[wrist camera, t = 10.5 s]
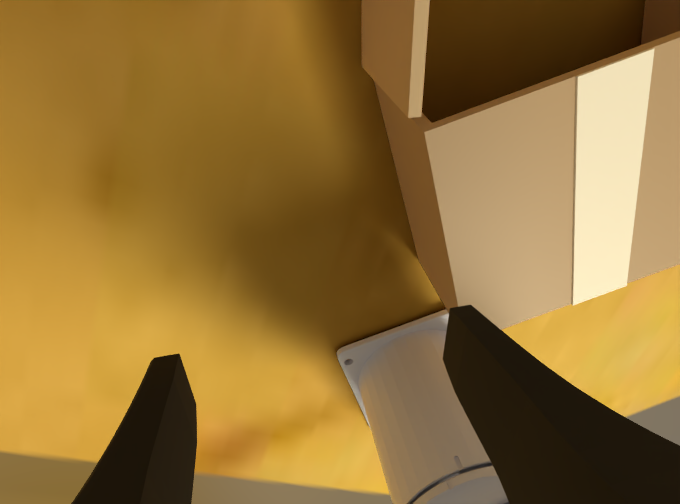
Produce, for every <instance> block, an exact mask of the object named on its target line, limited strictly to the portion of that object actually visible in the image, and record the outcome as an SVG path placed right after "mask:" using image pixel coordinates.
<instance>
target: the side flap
mask: <svg viewBox="0 0 680 504" xmlns="http://www.w3.org/2000/svg"><path fill="white" fill-rule="evenodd" d="M429 4H430V0H362V68H363V69H364V70H365V71H366V72H367V73H368V74H369V75H370V76H371V78H372V79H373V80H374V81H375V82H376V83H377V84H378V85H379V86H380V87H381V89H382V90H383V91H384V92H385V93H386V94H387V95H388V96H389V97H390V99H391V100H392V101H393V102H394V103H395V104H396V105H397V106H398V107H399V108H400V110H401V111H402V112H403V113H404V114H405V115H406V116H407V117H408V118H414V117H421V114H422V101H423V87H424V73H425V59H426V46H427V32H428V18H429Z"/></svg>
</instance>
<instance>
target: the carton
mask: <svg viewBox="0 0 680 504" xmlns="http://www.w3.org/2000/svg"><path fill="white" fill-rule="evenodd" d="M374 83H375V87H376V91H377V95H378V99H379V103H380V107H381V111H382V115H383V119H384V123H385V127H386V131H387V135H388V139H389V143H390V148H391V152H392V156H393V160H394V164H395V168H396V172H397V176H398V180H399V184H400V188H401V192H402V196H403V200H404V204H405V208H406V212H407V216H408V220H409V224H410V228H411V232H412V236H413V240H414V244H415V248H416V252H417V256H418V260H419V262H420V264H421V266H422V267H423V269H424V271H425V273H426V274H427V276H428V278H429V280H430V281H431V283H432V285H433V287H434V288H435V290H436V292H437V294H438V295H439V297H440V299H441V301H442V303H443V304H444V306H445V308H446V310H447V311H448V313H449V310H450V308H453V307H459V306H465V305H472V306H473V307H474V308H475V309H477V310H478V311H479V312H480V313H481V314H483V315H484V316H485V317H486V318H487V319H489V320H490V321H491V322H492V323H493V324H494V325H496V326H497V327H498V328H499V329H500V330H501V329H504V328H507V327H510V326H512V325H515V324H518V323H521V322H523V321H526V320H529V319H531V318H534V317H537V316H540V315H542V314H545V313H548V312H551V311H553V310H556V309H559V308H562V307H564V306H567V305H570V304H572V305H575V304H578V303H581V302H584V301H586V300H589V299H592V298H595V297H597V296H600V295H603V294H605V293H608V292H611V291H614V290H616V289H619V288H622V287H625V286H627V283H630V282H633V281H635V280H638V279H641V278H644V277H646V276H649V275H652V274H655V273H657V272H660V271H663V270H665V269H668V268H671V267H674V266H676V265H679V264H680V0H645V7H644V17H643V27H642V37H641V45H640V46H638V47H635V48H632V49H630V50H627V51H624V52H621V53H619V54H616V55H613V56H611V57H608V58H605V59H603V60H600V61H597V62H595V63H592V64H589V65H586V66H584V67H581V68H578V69H576V70H573V71H570V72H568V73H565V74H562V75H560V76H557V77H554V78H551V79H549V80H546V81H543V82H541V83H538V84H535V85H533V86H530V87H527V88H525V89H522V90H519V91H516V92H514V93H511V94H508V95H506V96H503V97H500V98H498V99H495V100H492V101H490V102H487V103H484V104H481V105H479V106H476V107H473V108H471V109H468V110H465V111H463V112H460V113H457V114H455V115H452V116H449V117H447V118H444V119H441V120H438V121H436V122H433V123H432V122H431V121H430V120H429V119H428V118H427V117H426V116H425V115H424V114H423V113H422V114H421V117H414V118H408V117H407V116H406V115H405V114H404V113H403V112H402V111H401V110H400V108H399V107H398V106H397V105H396V104H395V103H394V102H393V101H392V100H391V99H390V97H389V96H388V95H387V94H386V93H385V92H384V91H383V90H382V89H381V87H380V86H379V85H378V84H377V83H376V82H375V81H374Z"/></svg>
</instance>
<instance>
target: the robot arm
mask: <svg viewBox="0 0 680 504" xmlns="http://www.w3.org/2000/svg"><path fill="white" fill-rule="evenodd" d="M337 358H338V361H339V363H340V365H341V367H342V369H343V371H344V373H345V376H346V378H347V380H348V382H349V384H350V386H351V388H352V390H353V393H354V395H355V397H356V399H357V401H358V403H359V405H360V408H361V410H362V412H363V414H364V416H365V418H366V420H367V422H368V425H369V427H370V429H371V431H372V435H373V438H374V441H375V445H376V448H377V452H378V455H379V459H380V462H381V465H382V469H383V472H384V476H385V479H386V483H387V486H388V489H389V493H390V496H391V499H392V503H393V504H680V446H679V445H677V444H675V443H673V442H671V441H669V440H667V439H665V438H663V437H661V436H659V435H657V434H655V433H653V432H651V431H649V430H647V429H646V428H643V427H642V426H640V425H638V424H636V423H634V422H633V421H631V420H629V419H627V418H625V417H624V416H622V415H620V414H618V413H617V412H615V411H613V410H611V409H610V408H608V407H606V406H605V405H603V404H602V403H600V402H598V401H597V400H595V399H594V398H592V397H590V396H589V395H587V394H586V393H584V392H582V391H581V390H579V389H578V388H576V387H575V386H573V385H572V384H570V383H569V382H568V381H566V380H565V379H563V378H562V377H561V376H559V375H558V374H556V373H555V372H554V371H552V370H551V369H549V368H548V367H547V366H545V365H544V364H543V363H541V362H540V361H539V360H537V359H536V358H535V357H534V356H532V355H531V354H530V353H529V352H527V351H526V350H525V349H524V348H522V347H521V346H520V345H519V344H517V343H516V342H515V341H514V340H512V339H511V338H510V337H509V336H508V335H506V334H505V333H504V332H503V331H502V330H500V329H499V328H498V327H497V326H496V325H494V324H493V323H492V322H491V321H490V320H489V319H487V318H486V317H485V316H484V315H483V314H481V313H480V312H479V311H478V310H477V309H475V308H474V307H473V306H472V305H465V306H459V307H453V308H450V310H449V313H448V311H447V310H446V309H445V310H442V311H439V312H437V313H434V314H431V315H428V316H426V317H423V318H420V319H417V320H415V321H412V322H409V323H407V324H404V325H401V326H398V327H396V328H393V329H390V330H387V331H385V332H382V333H379V334H377V335H374V336H371V337H368V338H366V339H363V340H360V341H357V342H355V343H352V344H349V345H347V346H344V347H342V348H340V349H339V350H338V351H337ZM347 359H349V360H347ZM196 448H197V417H196V402H195V399H194V396H193V393H192V390H191V387H190V384H189V381H188V378H187V375H186V372H185V369H184V366H183V363H182V360H181V357H180V354H174V355H168V356H162V357H156V358H154V359H153V360H152V361H151V362H150V365H149V367H148V369H147V372H146V374H145V376H144V378H143V380H142V383H141V385H140V387H139V389H138V391H137V393H136V395H135V397H134V399H133V401H132V403H131V405H130V407H129V409H128V411H127V413H126V414H125V416H124V418H123V420H122V422H121V424H120V426H119V427H118V429H117V431H116V433H115V435H114V437H113V438H112V440H111V442H110V444H109V445H108V447H107V449H106V450H105V452H104V454H103V455H102V457H101V459H100V460H99V462H98V463H97V465H96V467H95V469H94V470H93V472H92V473H91V475H90V477H89V478H88V480H87V481H86V483H85V484H84V486H83V487H82V489H81V490H80V492H79V493H78V495H77V496H76V498H75V500H74V501H73V502H72V504H191V500H192V499H191V498H192V490H193V480H194V469H195V459H196Z"/></svg>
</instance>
